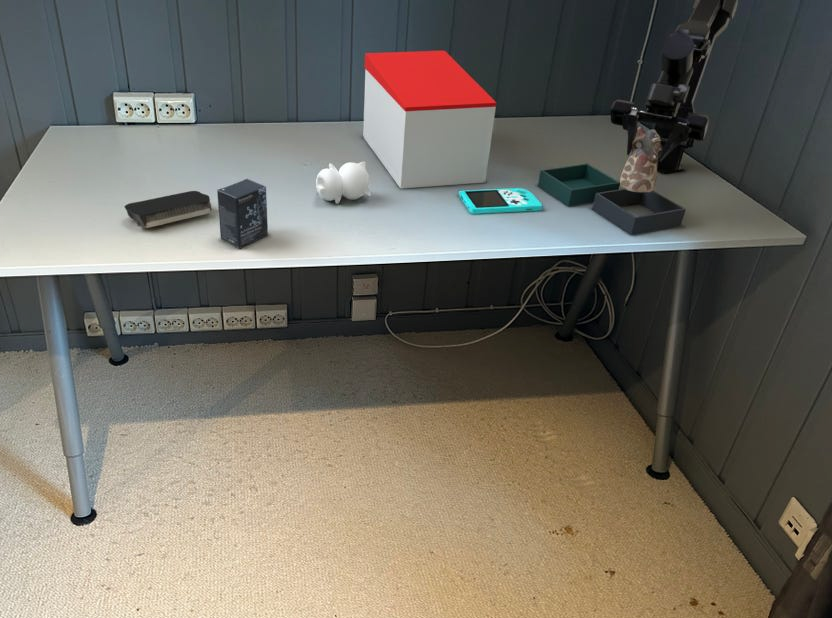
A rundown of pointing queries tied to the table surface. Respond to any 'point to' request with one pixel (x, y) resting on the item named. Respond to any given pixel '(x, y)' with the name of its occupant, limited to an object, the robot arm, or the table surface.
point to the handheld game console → (499, 200)
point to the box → (242, 213)
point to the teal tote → (576, 183)
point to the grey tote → (663, 218)
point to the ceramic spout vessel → (642, 163)
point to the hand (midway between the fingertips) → (643, 157)
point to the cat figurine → (343, 182)
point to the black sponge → (169, 208)
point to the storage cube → (426, 119)
